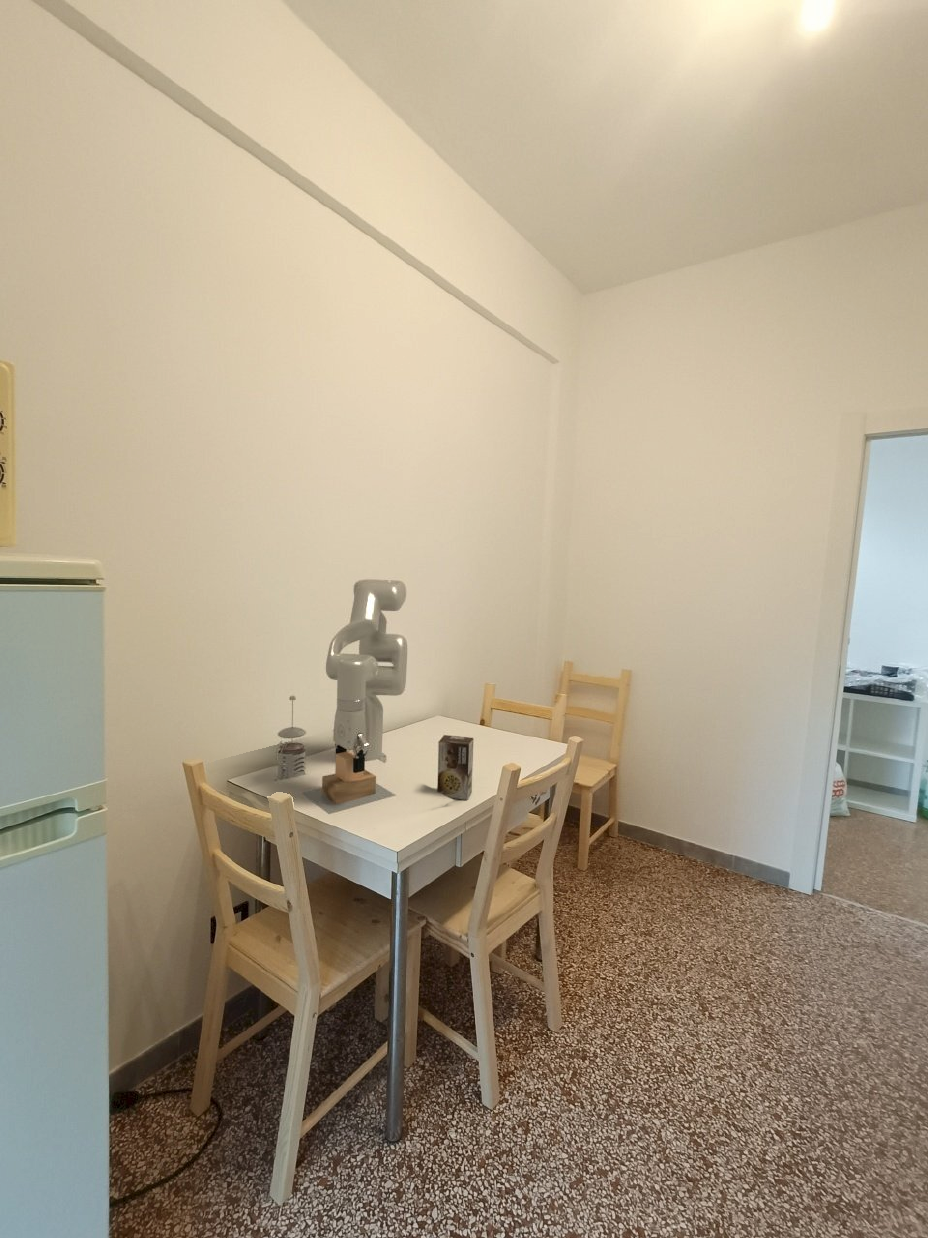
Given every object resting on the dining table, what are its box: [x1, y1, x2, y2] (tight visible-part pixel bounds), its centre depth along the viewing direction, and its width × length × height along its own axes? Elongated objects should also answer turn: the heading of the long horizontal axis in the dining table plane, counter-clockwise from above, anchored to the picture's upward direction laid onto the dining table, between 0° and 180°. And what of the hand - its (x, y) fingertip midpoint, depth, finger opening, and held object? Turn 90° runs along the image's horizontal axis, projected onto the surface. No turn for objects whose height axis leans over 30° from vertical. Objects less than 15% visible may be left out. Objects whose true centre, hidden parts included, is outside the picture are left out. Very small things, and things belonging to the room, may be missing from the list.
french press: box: [274, 695, 307, 782], centre depth 161 cm, size 10×12×25 cm
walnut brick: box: [321, 769, 377, 804], centre depth 149 cm, size 8×12×5 cm, turn 131°
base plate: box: [301, 783, 396, 815], centre depth 149 cm, size 16×20×2 cm
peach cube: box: [334, 750, 363, 782], centre depth 148 cm, size 6×6×6 cm
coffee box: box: [436, 734, 474, 801], centre depth 155 cm, size 9×6×16 cm
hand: (349, 766), depth 148 cm, fingers open, 9 cm apart
